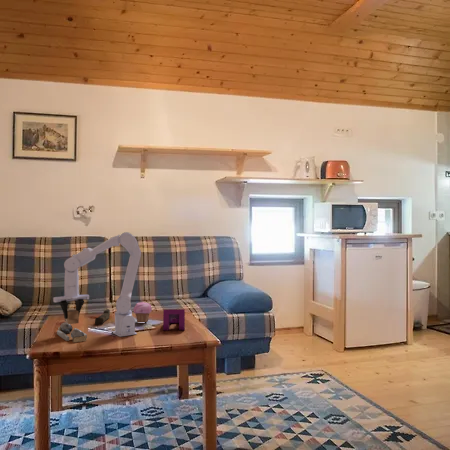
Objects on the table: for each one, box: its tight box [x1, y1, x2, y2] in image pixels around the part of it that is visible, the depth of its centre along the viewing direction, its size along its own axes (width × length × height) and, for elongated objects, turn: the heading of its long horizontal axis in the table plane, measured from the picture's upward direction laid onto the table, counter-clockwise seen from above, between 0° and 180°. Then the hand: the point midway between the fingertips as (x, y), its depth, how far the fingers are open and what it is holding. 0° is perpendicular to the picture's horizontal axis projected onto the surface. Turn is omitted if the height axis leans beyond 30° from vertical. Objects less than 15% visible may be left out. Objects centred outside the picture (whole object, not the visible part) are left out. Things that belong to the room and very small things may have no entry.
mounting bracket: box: [162, 308, 186, 332], centre depth 211 cm, size 9×8×18 cm
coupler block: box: [64, 307, 80, 325], centre depth 194 cm, size 4×8×5 cm, turn 31°
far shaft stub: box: [57, 321, 74, 335], centre depth 201 cm, size 6×5×4 cm
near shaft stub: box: [70, 328, 87, 344], centre depth 187 cm, size 6×5×4 cm
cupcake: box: [133, 301, 153, 323], centre depth 220 cm, size 9×9×10 cm
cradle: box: [56, 327, 88, 342], centre depth 194 cm, size 14×8×2 cm, turn 35°
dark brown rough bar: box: [94, 308, 111, 326], centre depth 225 cm, size 19×4×5 cm, turn 178°
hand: (71, 317), depth 194 cm, fingers closed on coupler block, 4 cm apart
